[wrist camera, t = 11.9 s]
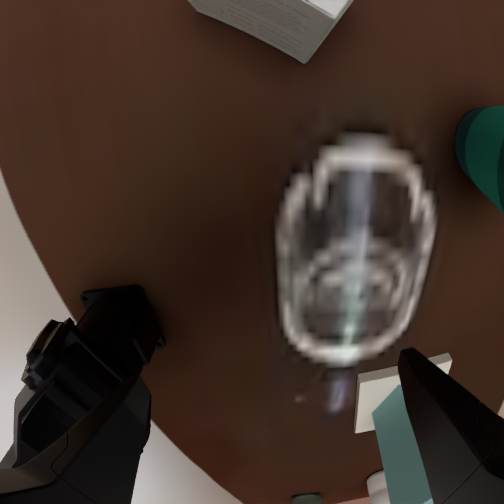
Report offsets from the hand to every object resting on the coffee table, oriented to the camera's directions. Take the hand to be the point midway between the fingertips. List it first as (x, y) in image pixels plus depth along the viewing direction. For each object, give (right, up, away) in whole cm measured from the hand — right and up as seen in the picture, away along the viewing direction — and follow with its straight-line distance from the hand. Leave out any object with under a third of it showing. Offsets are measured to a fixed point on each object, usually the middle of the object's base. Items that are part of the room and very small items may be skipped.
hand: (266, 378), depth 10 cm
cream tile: (+16, -11, +19) cm, 27 cm away
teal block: (+15, -12, +18) cm, 26 cm away
